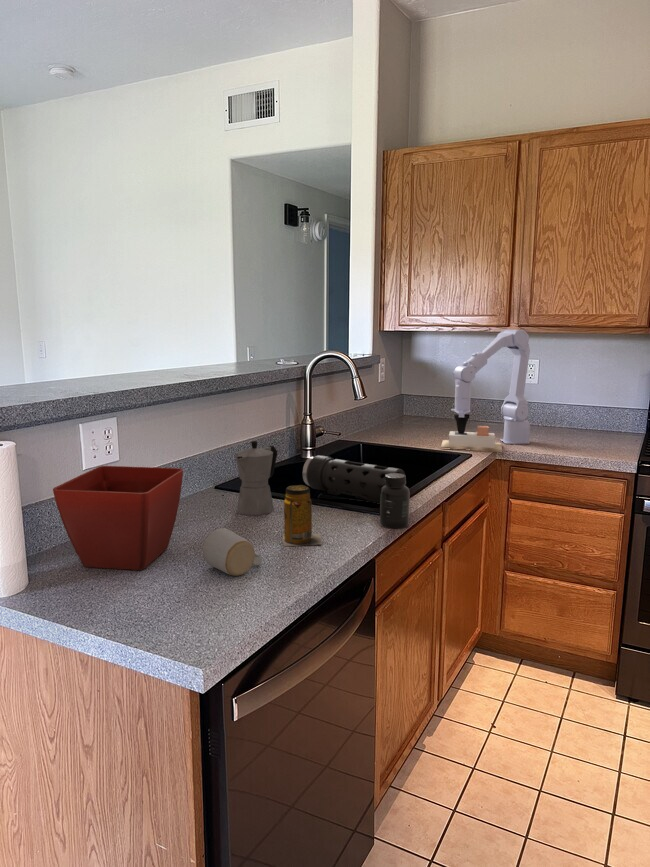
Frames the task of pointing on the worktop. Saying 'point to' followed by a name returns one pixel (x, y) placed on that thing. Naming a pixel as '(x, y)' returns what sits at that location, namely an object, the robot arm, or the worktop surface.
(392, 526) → the supplement bottle
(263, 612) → the worktop surface
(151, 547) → the plant pot
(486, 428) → the terracotta plunger
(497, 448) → the birch board
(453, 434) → the plunger panel
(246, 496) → the coffeepot
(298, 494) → the condiment
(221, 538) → the ceramic mug
